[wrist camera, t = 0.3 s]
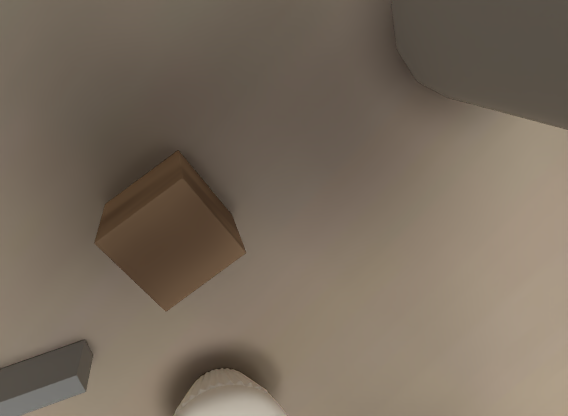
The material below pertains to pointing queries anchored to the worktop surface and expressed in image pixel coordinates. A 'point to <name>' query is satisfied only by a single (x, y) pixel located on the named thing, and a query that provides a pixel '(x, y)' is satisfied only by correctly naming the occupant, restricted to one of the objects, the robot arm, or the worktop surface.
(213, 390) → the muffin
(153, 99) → the worktop surface
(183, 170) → the walnut block
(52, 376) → the frame
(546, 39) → the cup
